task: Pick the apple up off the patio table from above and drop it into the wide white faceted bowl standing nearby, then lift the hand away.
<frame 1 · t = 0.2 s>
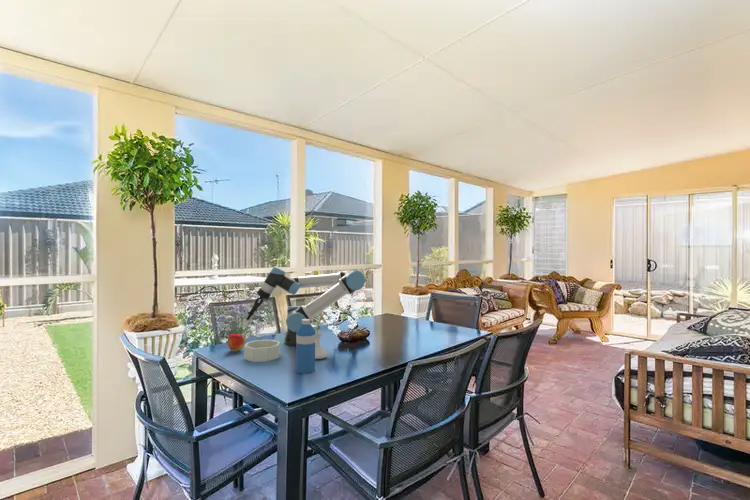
hand: (245, 322, 219), 16 cm above the table, tool tilted 30°, fingers open, 13 cm apart
white faceted bowl: (262, 356, 207), on the table
apple: (236, 351, 218), on the table
water bottle: (305, 370, 185), on the table
flower in vase: (317, 357, 207), on the table
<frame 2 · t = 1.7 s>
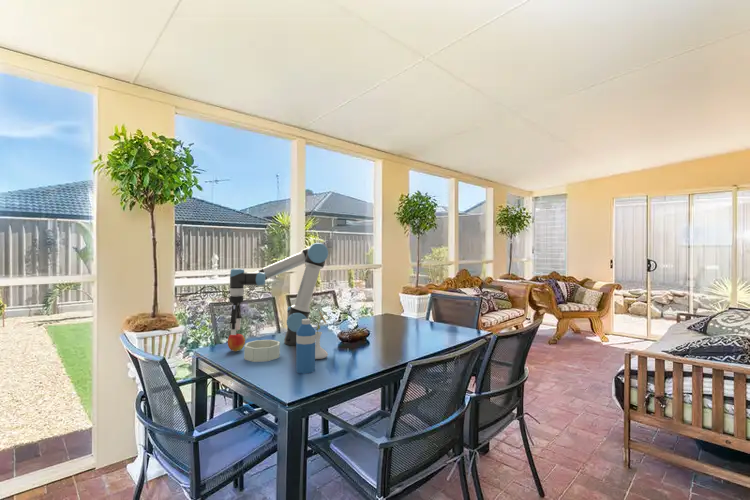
hand: (235, 332, 218), 11 cm above the table, tool pointing down, fingers open, 13 cm apart
nothing on the table moved.
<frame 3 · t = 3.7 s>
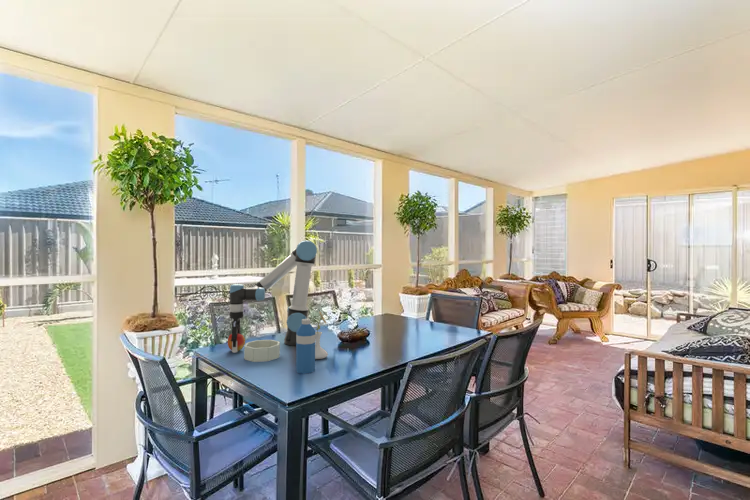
hand: (236, 349, 218), 1 cm above the table, tool pointing down, fingers closed on apple, 9 cm apart
apple: (236, 351, 218), on the table, touching gripper
everything else where it was.
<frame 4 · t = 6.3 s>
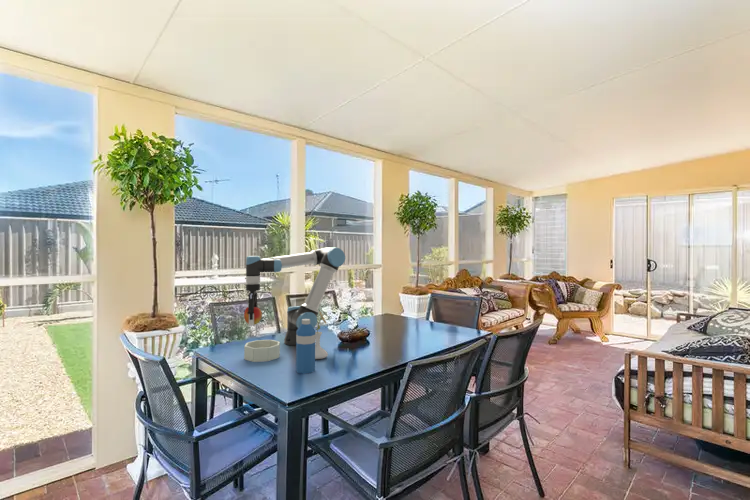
hand: (252, 323, 211), 17 cm above the table, tool pointing down, fingers closed on apple, 9 cm apart
apple: (252, 324, 211), point 17 cm above the table, touching gripper
everything else where it was.
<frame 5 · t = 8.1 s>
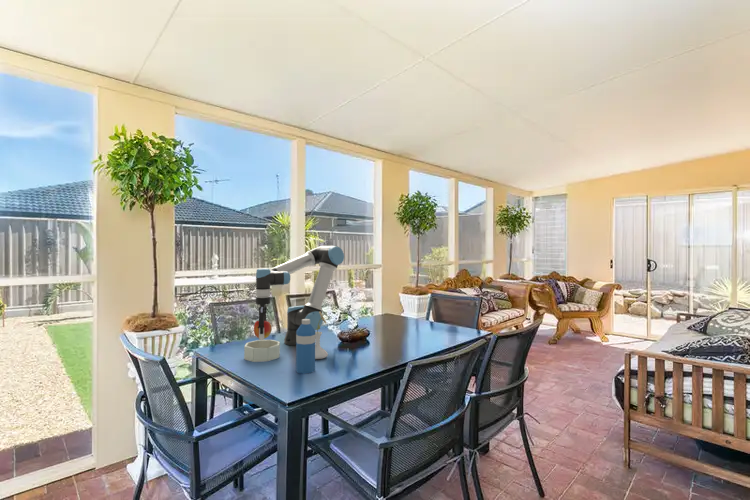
hand: (262, 337, 207), 11 cm above the table, tool pointing down, fingers closed on apple, 9 cm apart
apple: (262, 338, 207), point 10 cm above the table, touching gripper
everything else where it was.
when the fingers open (9 cm above the table, at t = 9.2 s): apple drops 7 cm, resting on white faceted bowl.
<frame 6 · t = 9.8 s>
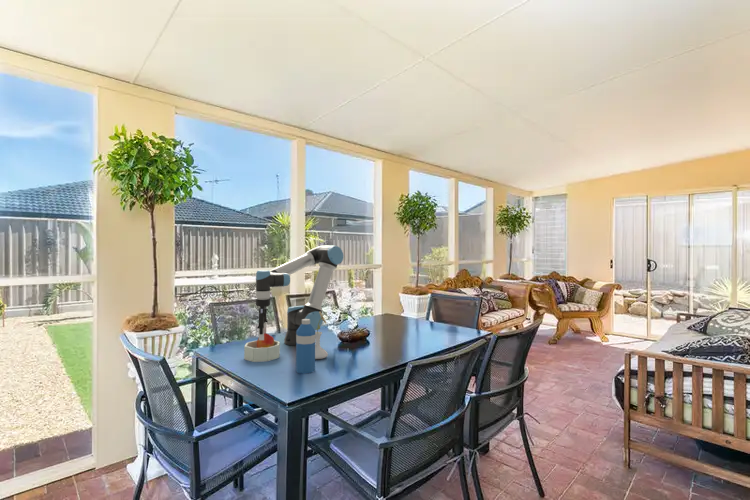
hand: (262, 337, 207), 11 cm above the table, tool pointing down, fingers open, 13 cm apart
apple: (262, 352, 208), point 2 cm above the table, touching gripper, white faceted bowl
everything else where it was.
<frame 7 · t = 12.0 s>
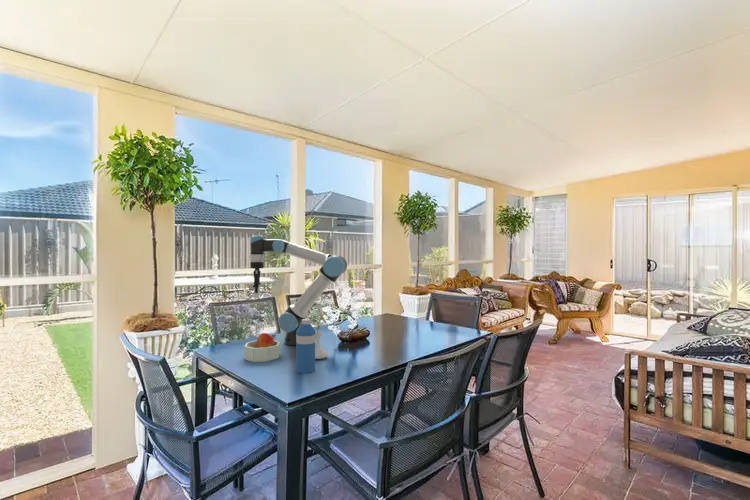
hand: (256, 297, 226), 30 cm above the table, tool pointing down, fingers open, 13 cm apart
apple: (262, 352, 208), point 2 cm above the table, touching white faceted bowl
everything else where it was.
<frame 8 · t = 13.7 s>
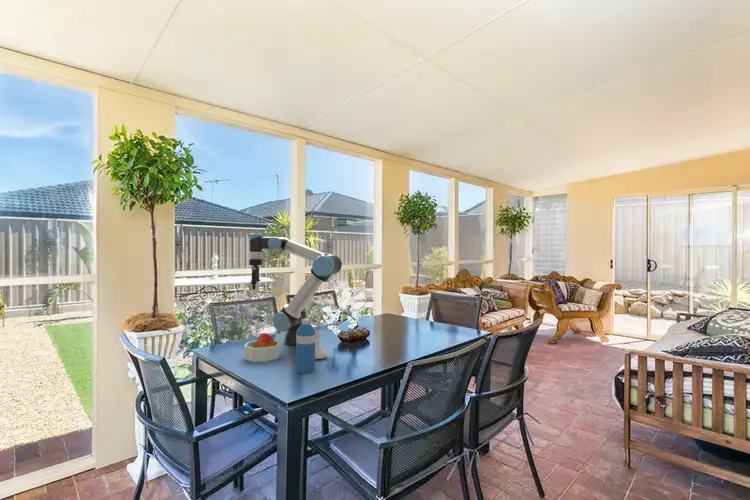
hand: (255, 293, 231), 32 cm above the table, tool pointing down, fingers open, 13 cm apart
nothing on the table moved.
at the end: apple inside the target area on the white faceted bowl (0.4 cm from its centre), point 2.1 cm above the white faceted bowl's base; the gripper is holding nothing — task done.
